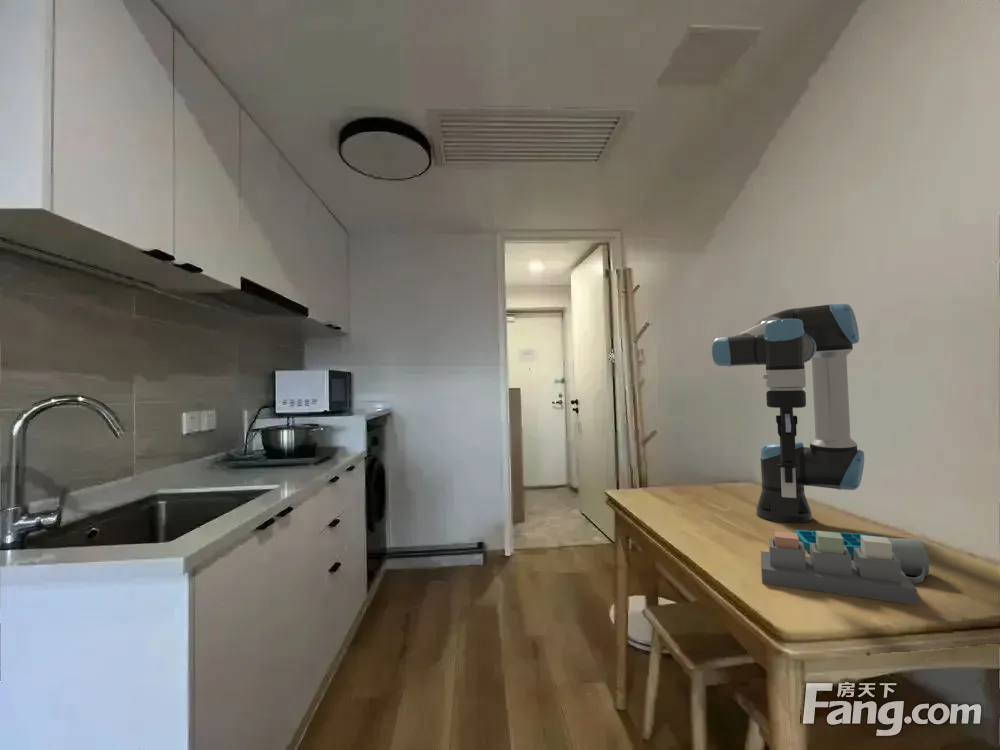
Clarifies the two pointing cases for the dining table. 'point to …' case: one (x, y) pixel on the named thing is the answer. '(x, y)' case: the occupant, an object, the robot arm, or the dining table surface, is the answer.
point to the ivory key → (876, 547)
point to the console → (837, 573)
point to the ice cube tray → (848, 538)
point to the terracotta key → (786, 540)
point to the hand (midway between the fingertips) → (788, 496)
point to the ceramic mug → (911, 557)
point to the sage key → (829, 542)
